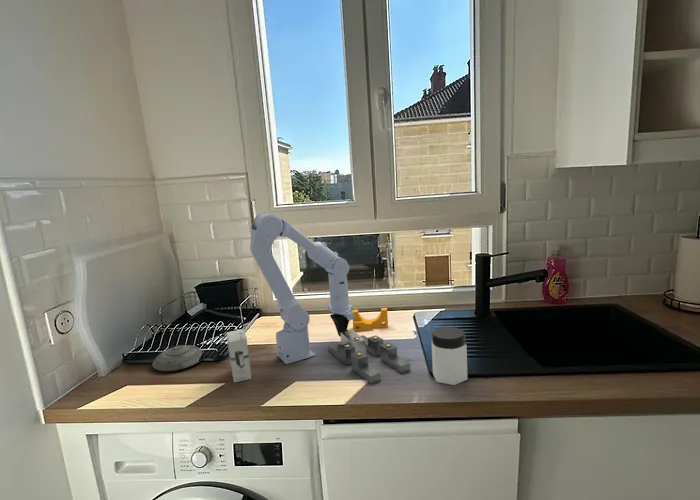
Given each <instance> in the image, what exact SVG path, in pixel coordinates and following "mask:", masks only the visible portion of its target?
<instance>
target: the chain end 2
mask: <svg viewBox="0 0 700 500" xmlns="http://www.w3.org/2000/svg"><path fill="white" fill-rule="evenodd" d="M380 352H381V355H380V360H381V361H382V362H383V363H384V364H386V365H388V366H390V367H391V368H393V369H394V370H396V371H397V372H399V373H400V374H402V373H406V372H409V371H411V363H410V362H409V361H407V360H406V359H404V358H402V357H401V356H400V355H398V346H396V345H394V344H392V343H390V342H386V343H383V344H382V345H380ZM351 363H352V364H351V370H352V371H354V372H355V373H356V374H357V375H359V376H360V377H361V378H363V379H364V380H366V381H367V383H369V384H373V383H377V382H380V381H381V372H380V371H378V370H376V368H374V367H372V366H371V365H370V364H369V356H368V355H367V354H366V355H365V354H364V353H362V352H361V351H359V352H356V353H352V354H351Z"/></svg>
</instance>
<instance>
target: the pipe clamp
mask: <svg viewBox="0 0 700 500" xmlns="http://www.w3.org/2000/svg"><path fill="white" fill-rule="evenodd" d="M351 310H352V312H353V313H354V319H353V320H352V330H353V331H355V332H362V331H363V332H366V331H368V332H369V331H373V329H387V328H389V319H388V317H389V316H388V307H381V308H380V312H379V315H378V316H377V317H375V318H374V319H368V318H367V319H366V318H365V317H363V316H361V314H360V313H359V309H351Z"/></svg>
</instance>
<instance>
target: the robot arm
mask: <svg viewBox="0 0 700 500" xmlns="http://www.w3.org/2000/svg"><path fill="white" fill-rule="evenodd" d="M250 233H251V234H250V242H249V243H250V247H249V248H250V249H249V251H250V253H251V255H252V256H253V258H254V260H255V262H256V265H257V266H258V268H259V269H260V272H261V273H262V275H263V277H264V279H265V280H266V282H267V284H268V286H269V288H270V290H271V292H272V294H273V296H274V297H275V299H276V301H277V306H278V308H279V311H280V312H279V313H280V314H279V315H280V319H282V321H283V322H284V323H283V328H282V329H281V330H279V331H276V333H275V338H276V339H275V341H276V348H277V351H276V352H277V354H276V355H277V357H278V358H279V359H280V360H281V361H282V362H283V363H284V364H285V365H287V364H292V363H295V362H298V361H302V360H305V359H309V358H313V357H315V356H316V354H315V353H314V352H313V351H312V350H311V347H310V345H311V344H310V337H309V327H308V326H309V323H310V318H311V317H310V315H309V312H307V311H306V310H305V309H304V308H302V306H301V304H300V302H298V300H297V299H296V297H295V296H294V294H293V293H292V290H291V288H290V286H289V284H288V282H287V280H286V278H285V277H284V274H283V273H282V270H281V269H280V267H279V266H278V264H277V261H276V259H275V257H274V256H273V254H272V252H271V249H272V247H273V244H274V241H276V239H277V238H278V237H283V238H288V239H289V240H290V241H292V242H294V243H295V244H297V245H298V246H300V247H301V248H303V249H304V250H306V252H307V257H308V258H309V259H310V260H312V261H313V262H315V263H316V264H317V265H319V266H320V267H321V268H323V269H324V270H325V271H326V272H327V275H328V286H329V289H328V290H329V300H330V302H328V303H327V310H330V312H331V313H332V314H330V315H329V316H330V318H331V320H332V322H333V324H334V326H335V329H336V332H337V334H338V337H340V338H341V334H340V332H343V331H345V330H348V326H349V325H350V321H353V319H354V313H353V312H352V310H353V305H352V304H350V300H349V286H348V285H349V283H348V274H349V271H350V267H351V265H349V263H348V261H347V259H344V258H343V257H341V256H339V253H338V252H337V251H333V250H331V249H330V248H329V247H328V244H327V243H326V242H324V241H312V240H311V239H310V238H309V237H308V236H307V235H305V234H304V233H302V232H301V230H299V229H298V228H297V227H295V226H294V225H292V224H291V223H290V222H288V221H287V220H285V219H283V218H281V217H280V216H279V215H276V214H272V213H267V212H260V213H258V214H257V215H256V216H255V217H254V219H253V221H252V223H251V225H250Z"/></svg>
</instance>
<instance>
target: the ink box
mask: <svg viewBox="0 0 700 500" xmlns="http://www.w3.org/2000/svg"><path fill="white" fill-rule="evenodd" d="M226 340H227V348H228V358H229V363H230V371H231V374H232V375H231V376H232V381H233V383H238V382H242V381H243V382H244V381H247V380H251V379H252V373H251V372H252V371H251V364H250V363H251V362H250V356H249V347H248V339H247V335H246V332H245V329H244V328H242V329H237V330H233V331H228V332H226Z"/></svg>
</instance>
